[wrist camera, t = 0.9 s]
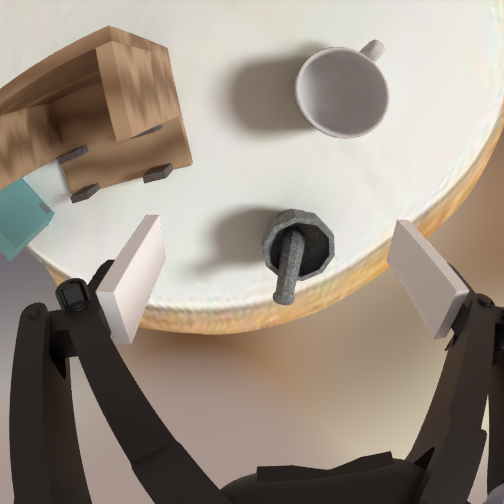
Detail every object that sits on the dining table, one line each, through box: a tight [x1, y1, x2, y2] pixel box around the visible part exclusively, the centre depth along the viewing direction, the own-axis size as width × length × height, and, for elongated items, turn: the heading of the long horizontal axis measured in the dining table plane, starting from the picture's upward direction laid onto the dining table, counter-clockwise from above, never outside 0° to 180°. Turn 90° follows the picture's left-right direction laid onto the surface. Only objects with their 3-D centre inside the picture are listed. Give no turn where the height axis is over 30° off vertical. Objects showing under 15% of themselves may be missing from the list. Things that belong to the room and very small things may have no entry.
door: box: [0, 178, 55, 261], centre depth 36 cm, size 5×16×12 cm, turn 40°
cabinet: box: [0, 26, 193, 203], centre depth 29 cm, size 17×20×18 cm
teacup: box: [294, 40, 389, 139], centre depth 31 cm, size 14×11×8 cm
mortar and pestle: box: [262, 209, 335, 305], centre depth 41 cm, size 11×9×12 cm
